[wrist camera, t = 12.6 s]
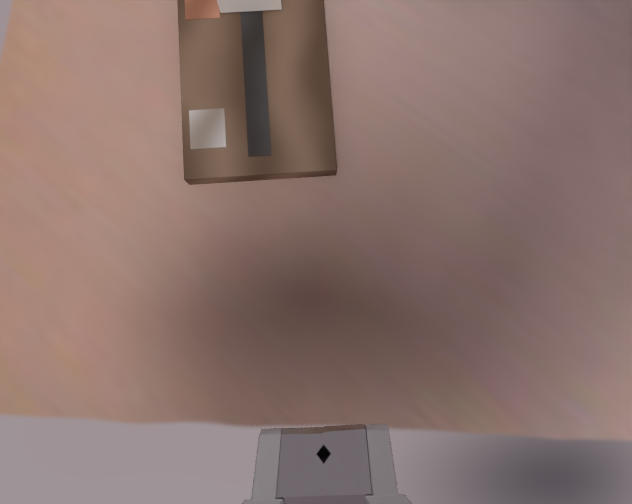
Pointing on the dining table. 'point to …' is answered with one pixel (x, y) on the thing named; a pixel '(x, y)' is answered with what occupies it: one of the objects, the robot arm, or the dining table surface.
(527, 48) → the dining table surface
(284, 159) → the switch board
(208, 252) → the dining table surface
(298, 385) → the dining table surface
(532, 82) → the dining table surface
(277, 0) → the switch tab
